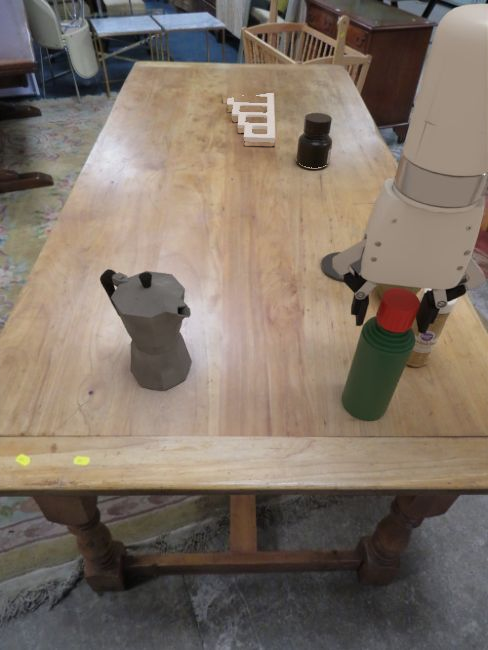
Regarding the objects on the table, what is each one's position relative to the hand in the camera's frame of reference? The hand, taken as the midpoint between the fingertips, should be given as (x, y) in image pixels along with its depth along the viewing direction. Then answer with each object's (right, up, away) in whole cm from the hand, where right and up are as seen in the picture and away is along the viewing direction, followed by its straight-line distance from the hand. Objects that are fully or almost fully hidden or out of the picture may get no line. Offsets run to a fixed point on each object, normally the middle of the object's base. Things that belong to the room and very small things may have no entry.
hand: (389, 320), depth 51 cm
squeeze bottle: (+10, +5, +29) cm, 31 cm away
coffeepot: (-31, -7, +16) cm, 35 cm away
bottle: (0, -12, +12) cm, 16 cm away
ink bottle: (+2, +43, +68) cm, 80 cm away
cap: (0, 0, 0) cm, 1 cm away
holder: (-16, +67, +91) cm, 114 cm away
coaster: (+3, +11, +34) cm, 36 cm away
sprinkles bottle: (+10, -6, +18) cm, 21 cm away
